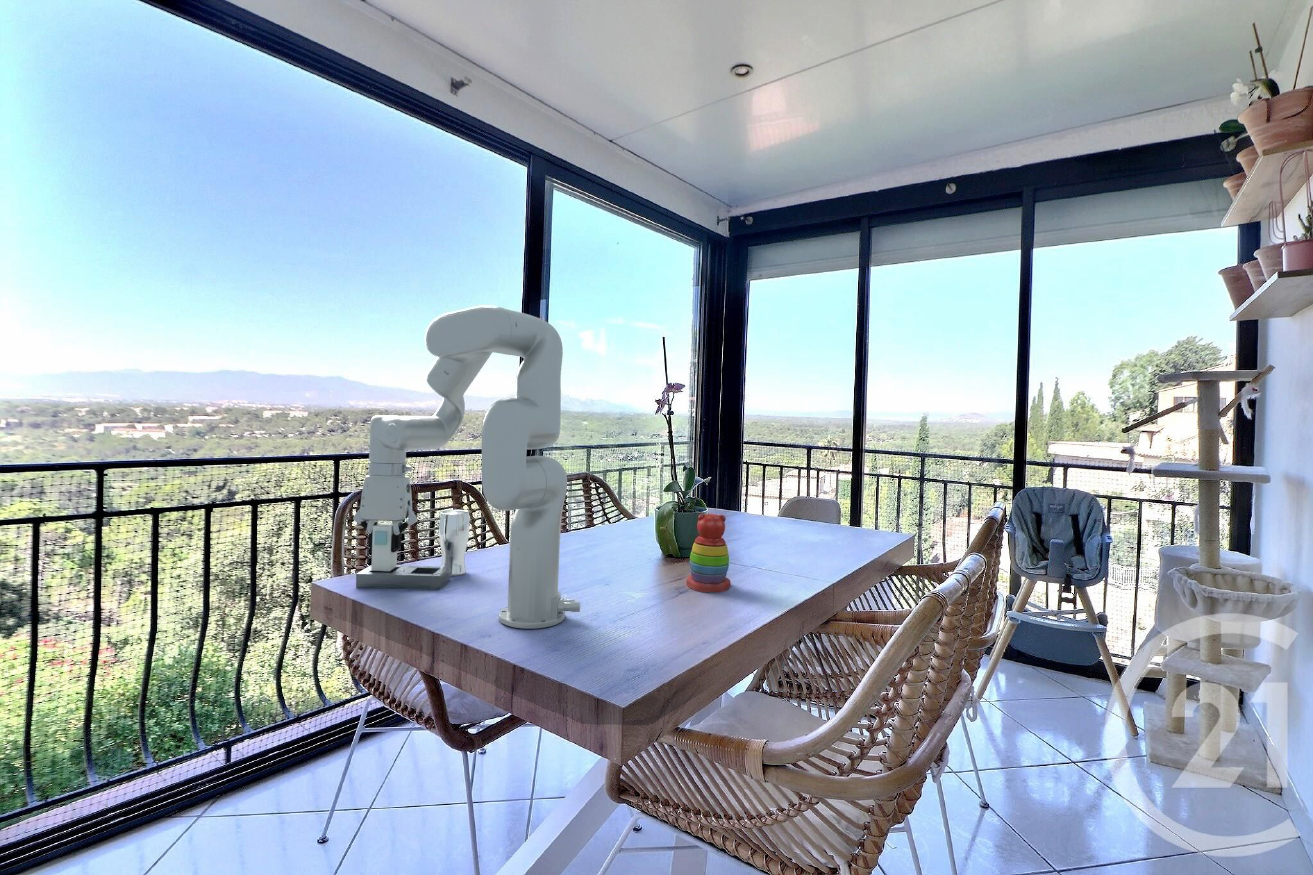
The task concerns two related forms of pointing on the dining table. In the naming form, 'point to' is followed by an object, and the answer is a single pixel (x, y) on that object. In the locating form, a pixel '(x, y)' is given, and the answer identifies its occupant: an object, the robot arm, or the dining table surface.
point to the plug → (383, 548)
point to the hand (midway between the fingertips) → (384, 549)
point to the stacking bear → (709, 556)
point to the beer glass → (454, 540)
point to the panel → (404, 577)
